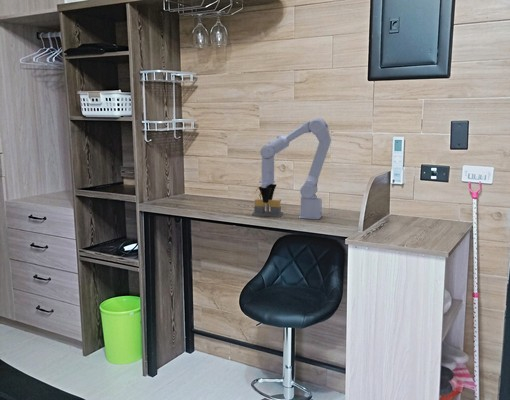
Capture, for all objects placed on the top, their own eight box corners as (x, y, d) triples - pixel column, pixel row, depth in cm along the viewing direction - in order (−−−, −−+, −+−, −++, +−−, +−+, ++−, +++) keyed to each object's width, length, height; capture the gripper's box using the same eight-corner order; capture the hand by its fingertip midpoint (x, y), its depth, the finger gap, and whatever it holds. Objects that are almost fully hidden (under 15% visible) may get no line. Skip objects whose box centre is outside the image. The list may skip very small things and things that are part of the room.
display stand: (256, 212, 243) (256, 202, 242) (283, 214, 239) (283, 203, 239) (251, 215, 236) (251, 205, 235) (279, 217, 233) (279, 206, 232)
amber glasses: (257, 204, 242) (257, 198, 241) (281, 205, 239) (281, 199, 238) (254, 206, 238) (254, 199, 237) (279, 207, 235) (279, 200, 234)
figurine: (251, 208, 254) (251, 184, 252) (257, 206, 259) (257, 182, 257) (266, 209, 250) (266, 185, 248) (272, 207, 255) (272, 183, 253)
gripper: (263, 169, 242) (263, 198, 245) (255, 173, 229) (255, 203, 231) (278, 170, 241) (277, 199, 243) (270, 173, 227) (270, 204, 229)
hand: (267, 201), depth 237 cm, fingers open, 7 cm apart
